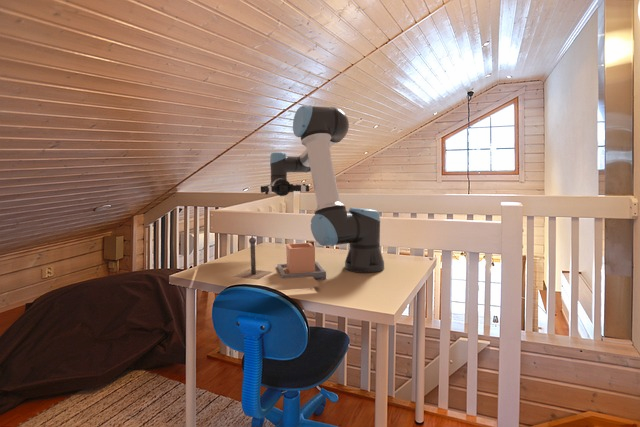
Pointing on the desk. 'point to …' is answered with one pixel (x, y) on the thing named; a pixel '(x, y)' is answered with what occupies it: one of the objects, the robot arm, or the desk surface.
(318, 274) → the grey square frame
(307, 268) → the orange block
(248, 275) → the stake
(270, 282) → the desk surface
